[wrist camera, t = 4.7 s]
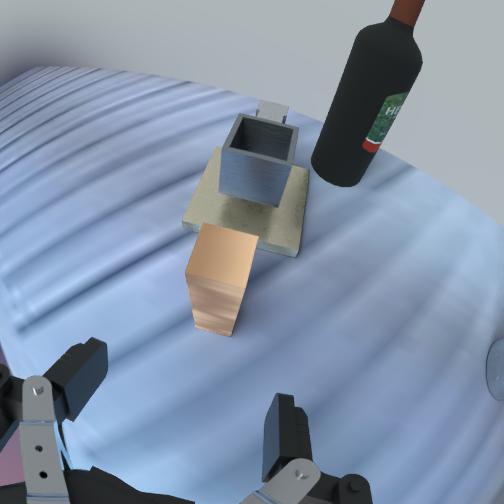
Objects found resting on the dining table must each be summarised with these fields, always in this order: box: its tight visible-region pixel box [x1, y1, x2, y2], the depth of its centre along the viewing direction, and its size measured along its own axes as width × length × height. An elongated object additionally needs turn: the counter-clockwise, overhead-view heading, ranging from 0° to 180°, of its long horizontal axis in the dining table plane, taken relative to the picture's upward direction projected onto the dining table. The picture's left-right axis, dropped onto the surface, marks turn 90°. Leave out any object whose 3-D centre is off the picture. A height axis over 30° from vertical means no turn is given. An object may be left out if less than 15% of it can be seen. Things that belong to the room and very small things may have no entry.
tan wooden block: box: [185, 222, 258, 337], centre depth 20 cm, size 3×3×12 cm
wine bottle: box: [311, 0, 425, 187], centre depth 25 cm, size 8×8×30 cm
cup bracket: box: [182, 100, 310, 258], centre depth 28 cm, size 12×12×10 cm
